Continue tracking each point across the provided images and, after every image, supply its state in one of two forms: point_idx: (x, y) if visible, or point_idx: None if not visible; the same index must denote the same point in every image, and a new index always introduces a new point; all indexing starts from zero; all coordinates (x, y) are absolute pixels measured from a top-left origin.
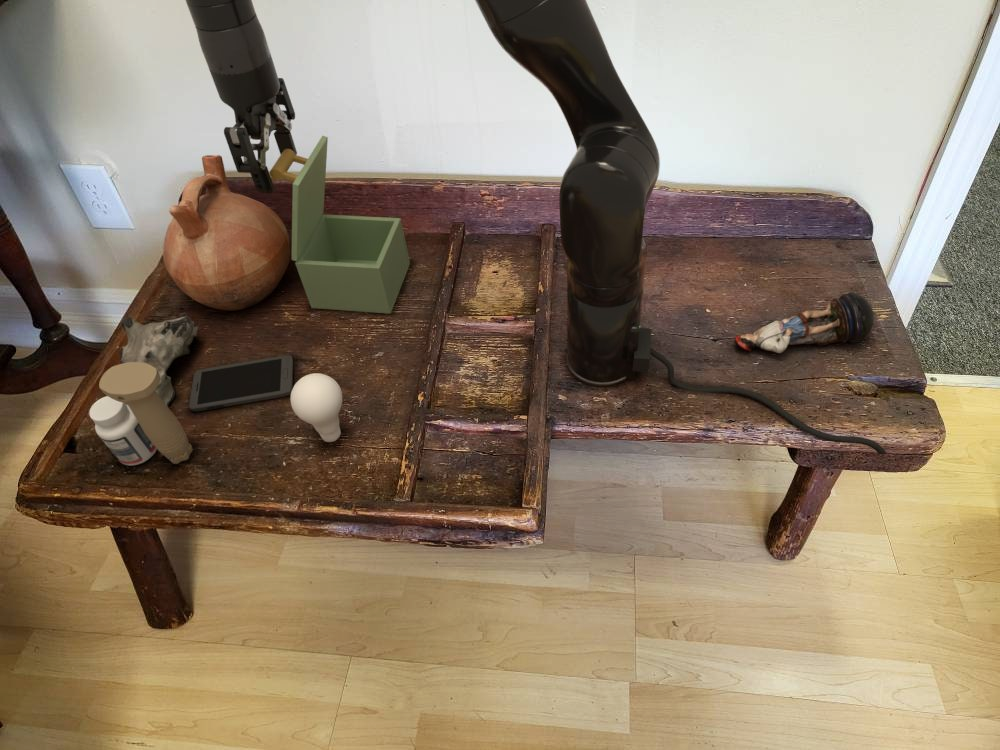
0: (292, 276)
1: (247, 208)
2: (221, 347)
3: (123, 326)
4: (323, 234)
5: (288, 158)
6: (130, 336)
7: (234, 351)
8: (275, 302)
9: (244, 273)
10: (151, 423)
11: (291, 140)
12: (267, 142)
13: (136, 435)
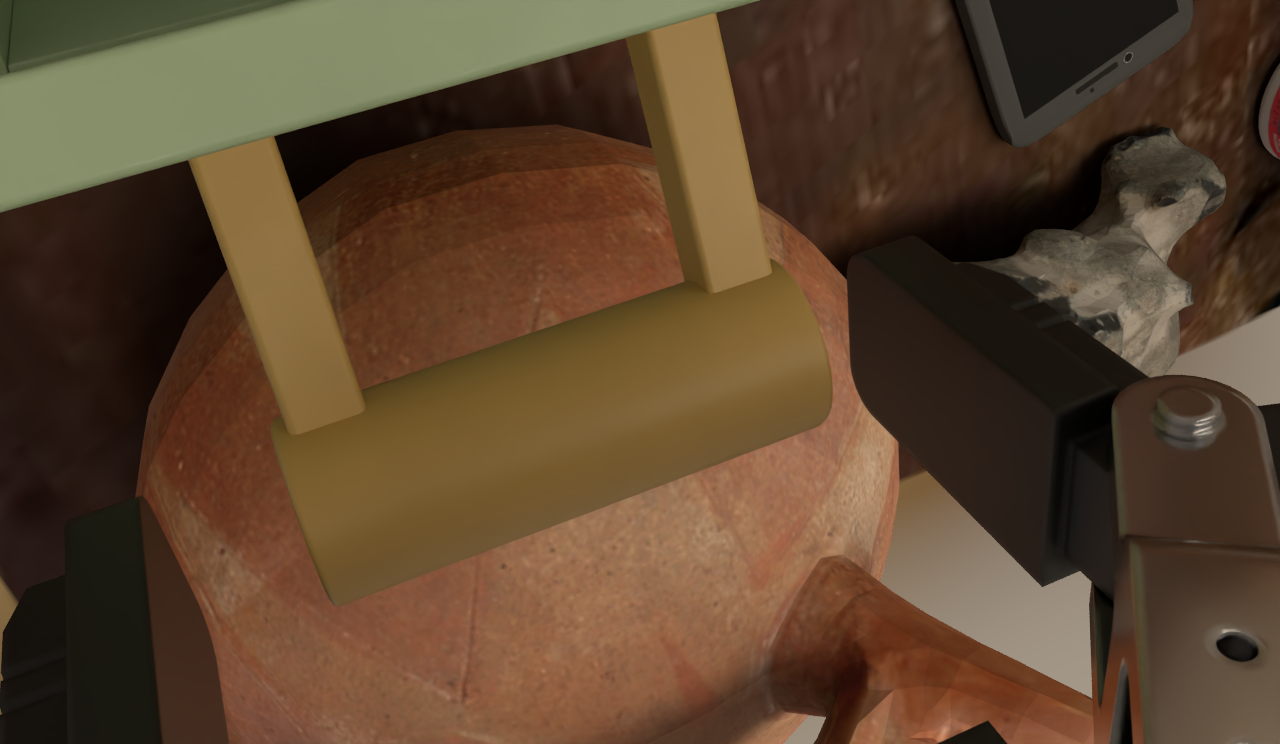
0: (286, 160)
1: None
2: (849, 157)
3: None
4: (126, 6)
5: (499, 415)
6: None
7: (863, 83)
8: (516, 112)
9: (778, 226)
10: None
11: (121, 670)
12: (1203, 617)
13: None
